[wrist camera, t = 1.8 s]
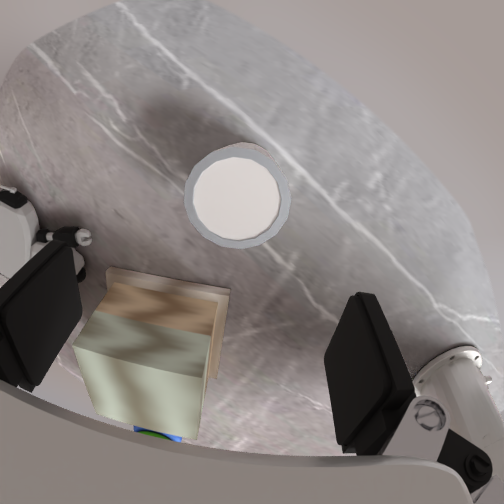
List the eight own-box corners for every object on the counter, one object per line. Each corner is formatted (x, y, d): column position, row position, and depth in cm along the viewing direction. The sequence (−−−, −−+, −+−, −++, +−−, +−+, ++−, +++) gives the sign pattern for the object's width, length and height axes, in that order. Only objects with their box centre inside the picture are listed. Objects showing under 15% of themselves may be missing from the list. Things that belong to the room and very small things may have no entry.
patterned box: (230, 289, 31) (216, 372, 21) (217, 371, 37) (206, 445, 27) (110, 266, 30) (60, 333, 21) (120, 350, 36) (90, 415, 27)
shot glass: (194, 198, 27) (172, 231, 20) (217, 123, 23) (200, 132, 17) (268, 223, 27) (268, 263, 21) (297, 151, 24) (308, 169, 18)
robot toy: (107, 217, 29) (3, 167, 25) (88, 238, 25) (-22, 180, 21) (86, 300, 34) (-3, 251, 30) (72, 324, 30) (-22, 270, 26)
